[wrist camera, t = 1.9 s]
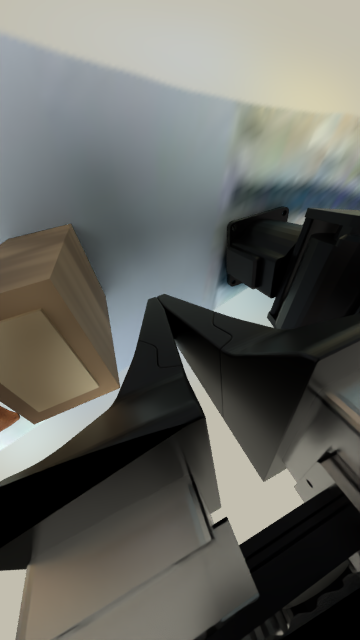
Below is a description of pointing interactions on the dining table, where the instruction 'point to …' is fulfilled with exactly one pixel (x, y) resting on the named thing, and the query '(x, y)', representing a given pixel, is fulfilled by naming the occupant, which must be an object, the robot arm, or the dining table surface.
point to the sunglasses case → (7, 418)
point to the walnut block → (52, 326)
